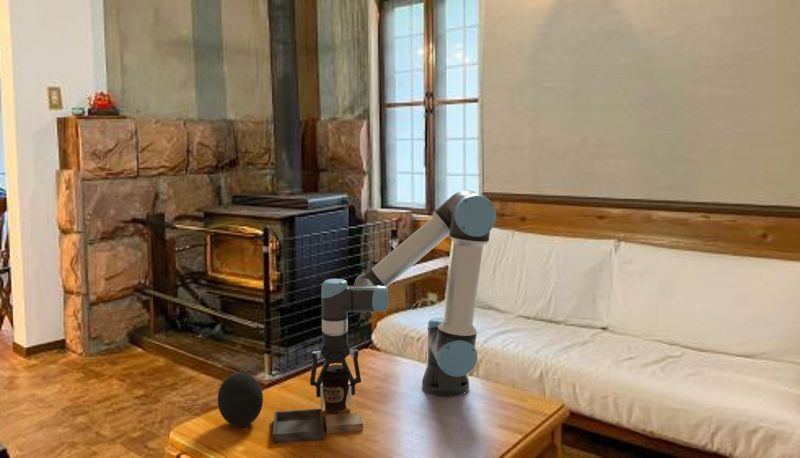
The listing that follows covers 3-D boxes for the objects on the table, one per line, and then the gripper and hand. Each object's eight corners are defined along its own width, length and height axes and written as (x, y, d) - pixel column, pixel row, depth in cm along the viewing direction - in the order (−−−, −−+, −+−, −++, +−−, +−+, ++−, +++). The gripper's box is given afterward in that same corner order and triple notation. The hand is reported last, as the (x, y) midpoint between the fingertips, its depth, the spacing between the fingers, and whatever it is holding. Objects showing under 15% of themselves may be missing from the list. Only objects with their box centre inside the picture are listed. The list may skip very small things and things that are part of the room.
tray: (321, 416, 189) (321, 408, 189) (323, 439, 175) (323, 431, 175) (275, 419, 187) (274, 411, 187) (272, 443, 173) (272, 434, 173)
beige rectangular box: (360, 421, 188) (360, 412, 187) (363, 431, 181) (363, 423, 181) (325, 423, 186) (325, 415, 186) (326, 434, 179) (326, 426, 179)
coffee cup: (345, 417, 189) (344, 374, 187) (317, 414, 191) (317, 372, 189) (353, 405, 198) (352, 363, 196) (327, 402, 199) (326, 362, 197)
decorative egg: (247, 437, 176) (246, 384, 174) (209, 430, 181) (207, 378, 178) (271, 418, 188) (270, 369, 186) (235, 412, 192) (233, 363, 190)
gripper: (368, 326, 196) (368, 399, 199) (299, 329, 193) (301, 402, 196) (371, 334, 188) (371, 409, 192) (299, 337, 185) (301, 413, 189)
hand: (335, 405), depth 194 cm, fingers closed on coffee cup, 8 cm apart
